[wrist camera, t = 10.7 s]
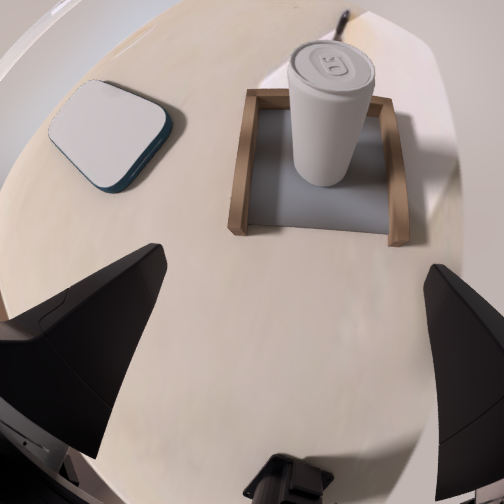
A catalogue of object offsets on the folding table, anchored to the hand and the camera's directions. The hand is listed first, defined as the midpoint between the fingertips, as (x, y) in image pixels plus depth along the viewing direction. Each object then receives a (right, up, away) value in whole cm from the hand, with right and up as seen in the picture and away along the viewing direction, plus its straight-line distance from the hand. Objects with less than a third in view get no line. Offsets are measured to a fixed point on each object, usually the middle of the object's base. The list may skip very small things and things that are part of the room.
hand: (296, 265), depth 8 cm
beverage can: (+5, +8, +15) cm, 17 cm away
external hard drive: (-21, +17, +21) cm, 34 cm away
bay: (+5, +8, +15) cm, 17 cm away
